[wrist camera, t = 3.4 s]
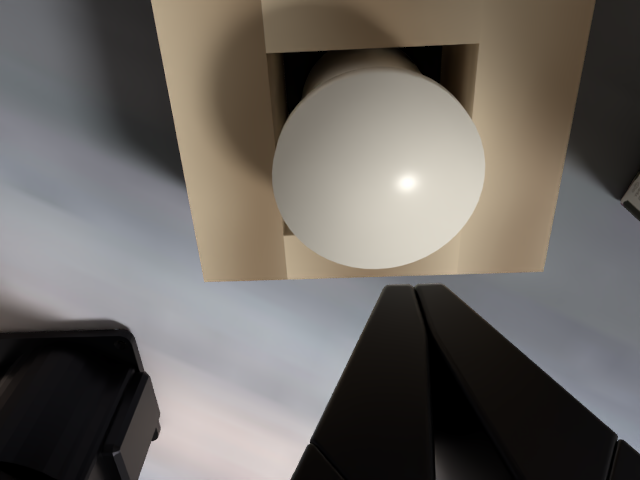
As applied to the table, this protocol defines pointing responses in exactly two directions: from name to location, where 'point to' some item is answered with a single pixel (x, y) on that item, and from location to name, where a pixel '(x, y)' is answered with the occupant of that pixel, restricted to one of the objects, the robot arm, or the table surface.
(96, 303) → the table surface
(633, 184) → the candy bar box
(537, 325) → the table surface
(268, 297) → the table surface
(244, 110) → the socket block
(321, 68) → the white plug
